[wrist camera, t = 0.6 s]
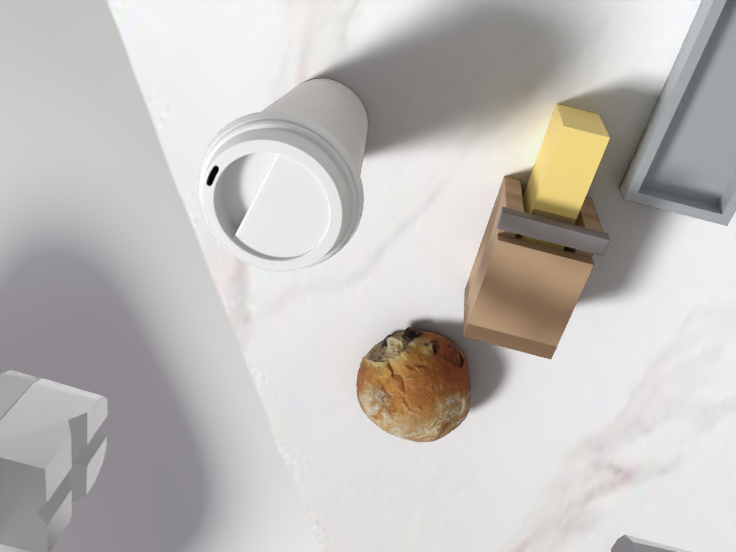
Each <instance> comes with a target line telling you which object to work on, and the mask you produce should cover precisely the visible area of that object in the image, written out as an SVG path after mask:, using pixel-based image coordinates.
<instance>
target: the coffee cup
mask: <svg viewBox="0 0 736 552" xmlns="http://www.w3.org/2000/svg"><path fill="white" fill-rule="evenodd" d="M367 133H368V118H367V113H366V110H365V108H364V105H363V103H362V102H361V100H360V99H359V97H358V96H357V95H356V94H355V93H354V92H353V91H352V90H351V89H350V88H348V87H347V86H345V85H344V84H342V83H340V82H337V81H334V80H331V79H312V80H308V81H306V82H303V83H301V84H300V85H298V86H296V87H295V88H294V89H292V90H291V91H289V92H288V93H287V94H285V95H284V96H282V97H281V98H280V99H278V100H277V101H275V102H274V103H273V104H271V105H270V106H268V107H267V108H266V109H264V110H263V111H261V112H258V113H253V114H249V115H246V116H243V117H240V118H238V119H236V120H234V121H232V122H231V123H229V124H228V125H226V126H225V127H224V128H223V129H221V130H220V131H219V132H218V133H217V134H216V136H215V137H214V138H213V139H212V141H211V142H210V144H209V145H208V147H207V149H206V151H205V154H204V156H203V159H202V163H201V168H200V173H199V195H200V201H201V205H202V208H203V212H204V216H205V219H206V221H207V223H208V226H209V228H210V229H211V231H212V233H213V234H214V236H215V237H216V239H217V240H218V241H219V242H220V243H221V245H222V246H223V247H224V248H225V249H226V250H228V251H229V252H230V253H231V254H232V255H234V256H235V257H237V258H238V259H240V260H242V261H243V262H245V263H247V264H249V265H252V266H254V267H257V268H261V269H265V270H270V271H293V270H298V269H303V268H307V267H311V266H314V265H316V264H319V263H321V262H323V261H325V260H327V259H329V258H330V257H332V256H333V255H335V254H336V253H337V252H338V251H339V250H341V249H342V248H343V247H344V246H345V245H346V244H347V243H348V241H349V240H350V239H351V238H352V236H353V235H354V233H355V231H356V229H357V227H358V225H359V222H360V219H361V216H362V211H363V202H364V196H363V186H362V181H361V177H360V174H361V168H362V162H363V156H364V150H365V145H366V139H367Z"/></svg>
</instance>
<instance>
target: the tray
mask: <svg viewBox="0 0 736 552" xmlns="http://www.w3.org/2000/svg"><path fill="white" fill-rule="evenodd" d="M619 189H620V192H621V194H622V196H623V199H625V200H629V201H632V202H636V203H640V204H644V205H648V206H652V207H656V208H660V209H663V210H667V211H671V212H675V213H679V214H683V215H687V216H691V217H694V218H698V219H702V220H706V221H710V222H714V223H718V224H722V225H725V226H727V225H728V224H729V222H730V220H731V218H732V216H733V215H734V213H735V211H736V0H702V2H701V5H700V7H699V9H698V11H697V14H696V16H695V18H694V20H693V23H692V25H691V27H690V29H689V32H688V34H687V36H686V38H685V41H684V43H683V45H682V47H681V50H680V52H679V54H678V56H677V59H676V61H675V63H674V65H673V68H672V70H671V72H670V74H669V77H668V79H667V81H666V83H665V85H664V88H663V90H662V92H661V94H660V97H659V99H658V101H657V103H656V106H655V108H654V110H653V112H652V115H651V117H650V119H649V121H648V124H647V126H646V128H645V130H644V133H643V135H642V137H641V139H640V142H639V144H638V146H637V148H636V151H635V153H634V155H633V157H632V160H631V162H630V164H629V166H628V169H627V171H626V173H625V175H624V178H623V180H622V182H621V184H620V187H619Z"/></svg>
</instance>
